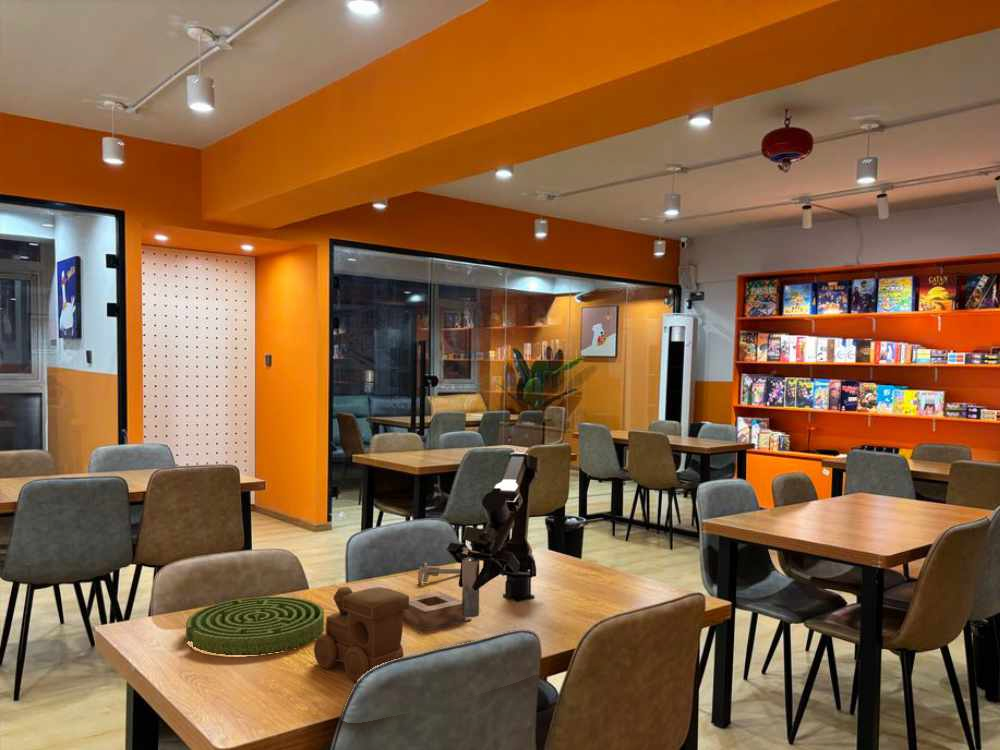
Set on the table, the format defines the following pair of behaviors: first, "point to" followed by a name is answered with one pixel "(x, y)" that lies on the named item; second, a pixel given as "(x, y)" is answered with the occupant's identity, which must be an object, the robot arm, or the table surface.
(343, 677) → the table surface
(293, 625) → the maze
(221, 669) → the table surface
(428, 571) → the caliper
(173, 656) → the table surface
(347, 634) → the wooden toy train
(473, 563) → the steel pin
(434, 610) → the socket block
